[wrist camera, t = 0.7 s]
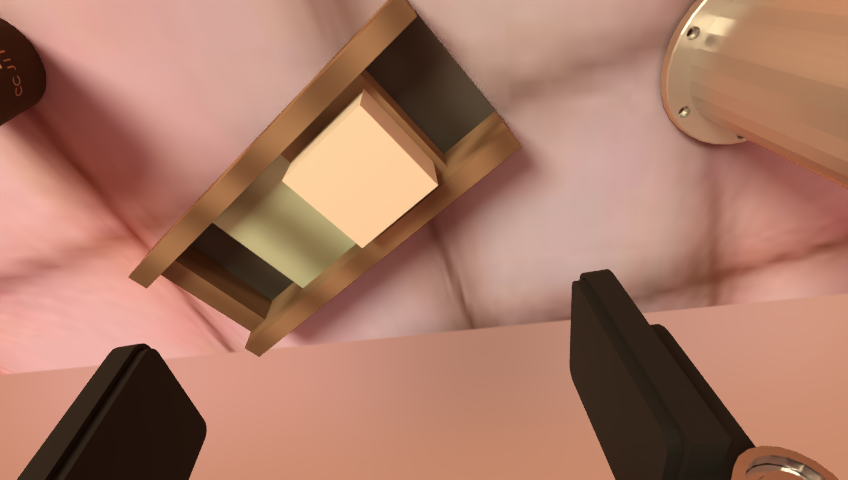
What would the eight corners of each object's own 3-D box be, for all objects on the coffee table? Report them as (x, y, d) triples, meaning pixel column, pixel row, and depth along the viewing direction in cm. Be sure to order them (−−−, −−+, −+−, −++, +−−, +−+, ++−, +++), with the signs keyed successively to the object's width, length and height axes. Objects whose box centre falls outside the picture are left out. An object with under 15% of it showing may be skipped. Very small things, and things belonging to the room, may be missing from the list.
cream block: (363, 88, 29) (359, 104, 26) (433, 162, 32) (438, 185, 29) (293, 157, 31) (281, 180, 28) (365, 220, 34) (362, 248, 31)
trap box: (398, -11, 29) (398, -7, 24) (505, 123, 34) (521, 146, 30) (157, 241, 37) (128, 277, 33) (272, 317, 43) (259, 356, 38)
